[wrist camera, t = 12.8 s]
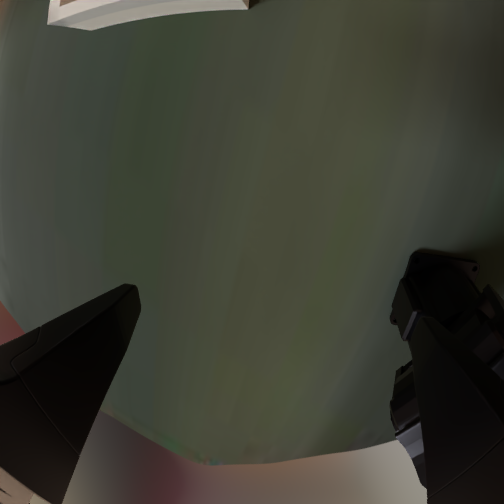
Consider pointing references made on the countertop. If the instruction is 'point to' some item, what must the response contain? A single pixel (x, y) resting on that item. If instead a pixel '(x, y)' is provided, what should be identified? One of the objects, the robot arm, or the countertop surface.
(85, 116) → the countertop surface
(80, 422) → the robot arm
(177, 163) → the countertop surface
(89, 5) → the housing
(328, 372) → the countertop surface
